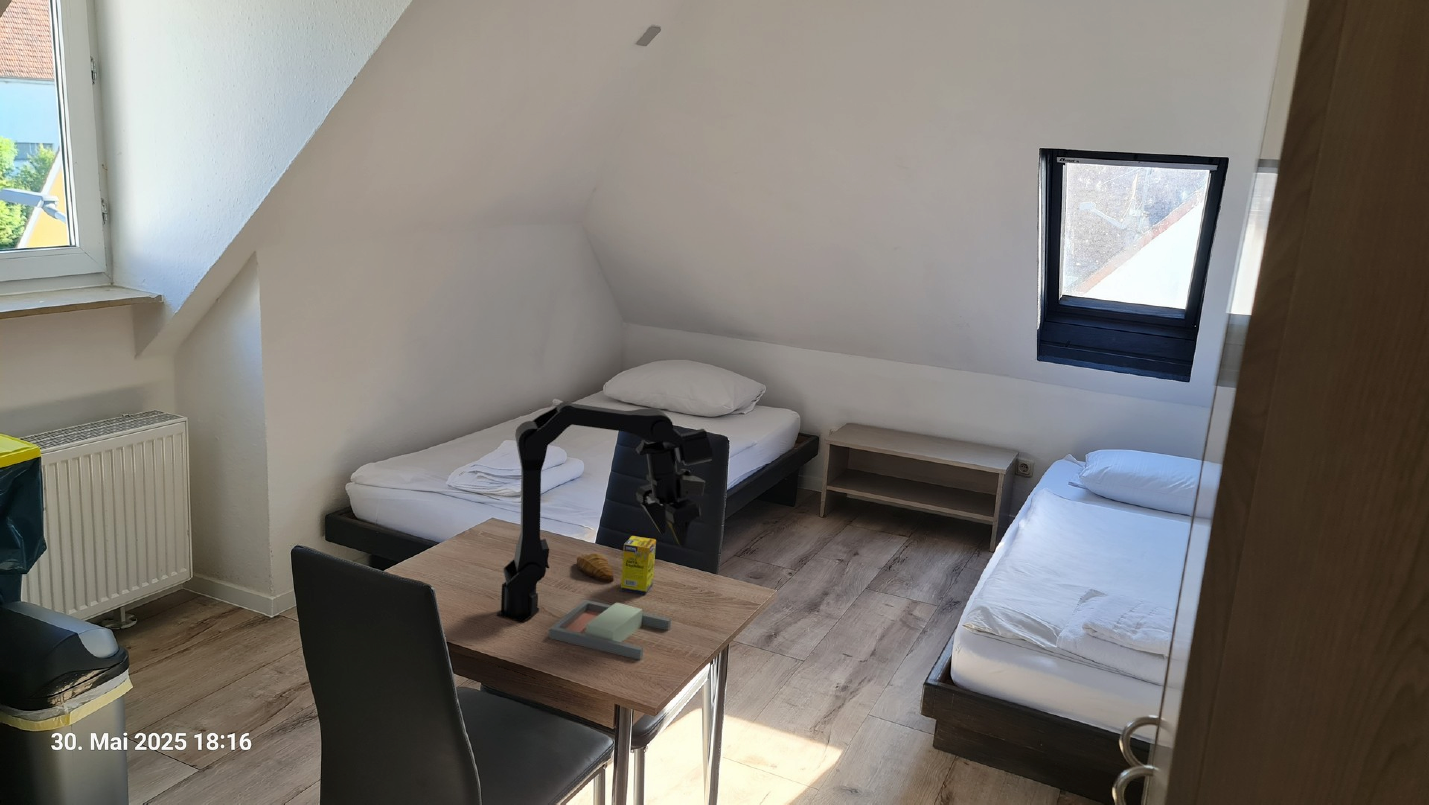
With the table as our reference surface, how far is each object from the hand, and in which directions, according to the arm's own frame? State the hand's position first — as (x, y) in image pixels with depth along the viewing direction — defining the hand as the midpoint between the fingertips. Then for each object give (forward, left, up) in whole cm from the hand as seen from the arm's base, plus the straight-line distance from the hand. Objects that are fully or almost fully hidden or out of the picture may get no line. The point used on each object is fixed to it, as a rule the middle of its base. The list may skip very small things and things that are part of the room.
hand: (672, 539), depth 207 cm
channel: (-5, -17, -15) cm, 23 cm away
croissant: (-22, +9, -16) cm, 28 cm away
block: (-5, -17, -15) cm, 24 cm away
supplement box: (-10, +6, -15) cm, 19 cm away
